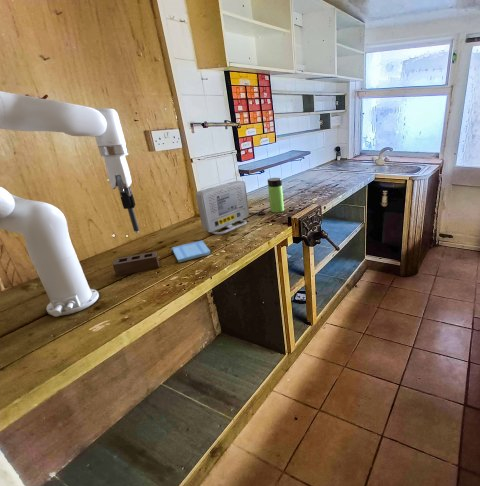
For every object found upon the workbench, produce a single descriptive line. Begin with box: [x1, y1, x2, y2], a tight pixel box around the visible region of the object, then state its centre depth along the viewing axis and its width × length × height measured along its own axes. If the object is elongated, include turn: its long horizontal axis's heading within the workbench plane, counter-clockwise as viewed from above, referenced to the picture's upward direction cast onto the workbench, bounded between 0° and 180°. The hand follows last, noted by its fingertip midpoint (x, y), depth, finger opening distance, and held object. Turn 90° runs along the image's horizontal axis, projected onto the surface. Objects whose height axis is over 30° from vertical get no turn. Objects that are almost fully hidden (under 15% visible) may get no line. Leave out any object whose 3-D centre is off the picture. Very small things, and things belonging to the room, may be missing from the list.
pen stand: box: [112, 250, 160, 277], centre depth 112 cm, size 5×13×4 cm, turn 114°
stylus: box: [127, 208, 140, 234], centre depth 106 cm, size 2×2×15 cm
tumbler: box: [267, 177, 285, 213], centre depth 167 cm, size 8×8×17 cm
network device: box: [195, 179, 250, 235], centre depth 146 cm, size 26×9×20 cm, turn 148°
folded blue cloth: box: [171, 240, 211, 263], centre depth 124 cm, size 14×12×1 cm
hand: (129, 206), depth 105 cm, fingers closed on stylus, 1 cm apart
